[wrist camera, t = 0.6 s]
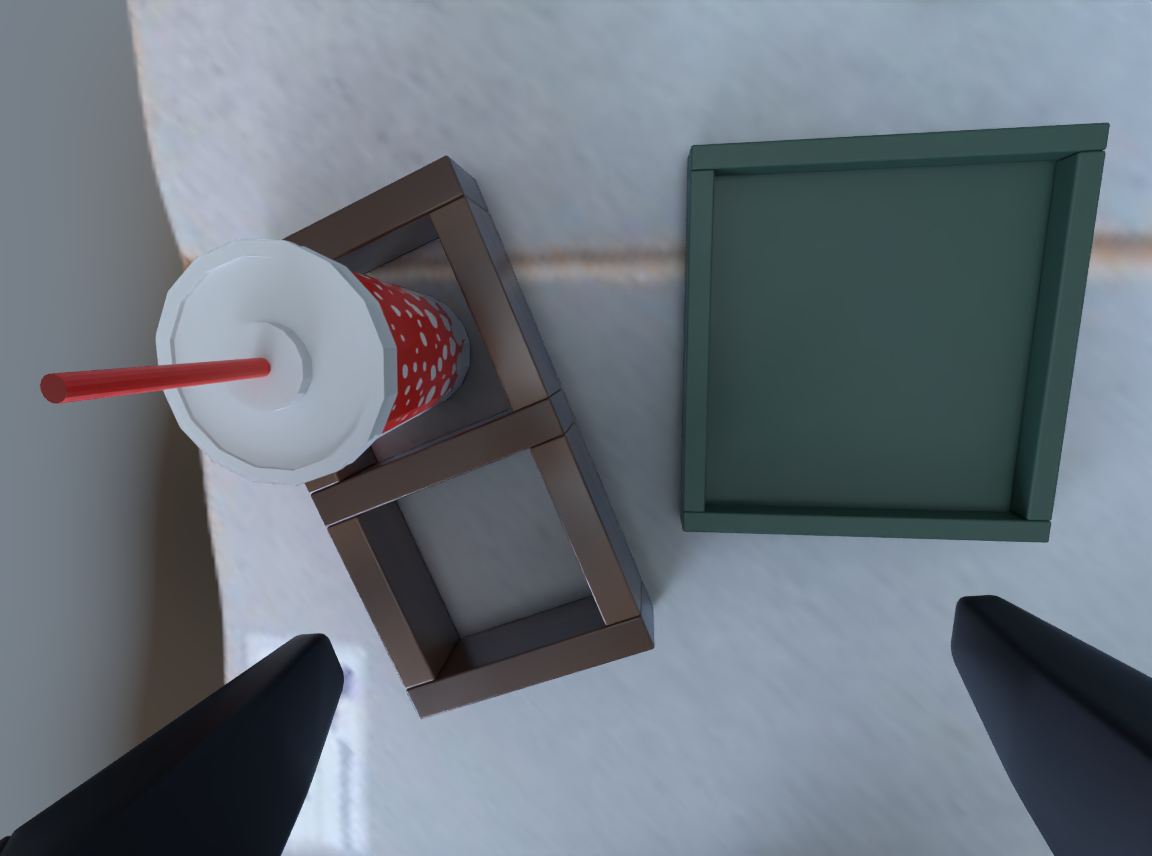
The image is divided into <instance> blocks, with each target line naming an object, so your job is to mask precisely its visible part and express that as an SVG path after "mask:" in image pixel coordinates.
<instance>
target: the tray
mask: <svg viewBox="0 0 1152 856" xmlns="http://www.w3.org/2000/svg"><path fill="white" fill-rule="evenodd" d="M1109 126H1110V124H1109V123H1092V124H1073V125H1055V126H1037V127H1019V128H1000V129H982V130H964V131H946V132H927V133H909V134H891V135H873V136H854V137H836V138H818V139H800V140H781V141H763V142H745V143H727V144H708V145H693V146H691V149H690V153H689V156H688V169H687V218H686V267H685V316H684V365H683V413H682V462H681V511H680V518H681V523H682V529H683V531H687V532H720V533H752V534H785V535H817V536H850V537H882V538H915V539H947V540H980V541H1012V542H1045V543H1046V542H1048V541H1049V534H1050V527H1051V522H1050V521H1049V520H1051V519H1052V512H1053V506H1054V499H1055V492H1056V485H1057V478H1058V472H1059V465H1060V458H1061V451H1062V444H1063V438H1064V431H1065V424H1066V417H1067V411H1068V404H1069V397H1070V390H1071V383H1072V377H1073V370H1074V363H1075V356H1076V349H1077V343H1078V336H1079V329H1080V322H1081V316H1082V309H1083V302H1084V295H1085V288H1086V282H1087V275H1088V268H1089V261H1090V254H1091V248H1092V241H1093V234H1094V227H1095V220H1096V214H1097V207H1098V200H1099V193H1100V187H1101V180H1102V173H1103V166H1104V159H1105V151H1103V150H1105V149H1106V146H1107V139H1108V133H1109Z"/></svg>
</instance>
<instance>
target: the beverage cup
mask: <svg viewBox="0 0 1152 856" xmlns="http://www.w3.org/2000/svg"><path fill="white" fill-rule="evenodd" d="M156 346H157V357H158V365H157V366H144V367H132V368H118V369H107V370H106V369H105V370H92V371H80V372H66V373H53V374H47V375H45V376H44V377H43V378H42V380H41V384H40V387H41V392H42V394H43V396H44V397H45V398H46V399H47V400H48V401H50V402H52V403H65V402H73V401H81V400H89V399H96V398H104V397H112V396H120V395H128V394H135V393H143V392H151V391H159V390H163V391H164V393H165V396H166V398H167V400H168V402H169V404H170V406H171V408H172V411H173V413H174V415H175V417H176V420H177V422H178V424H179V426H180V428H181V429H182V430H183V431H184V432H185V433H186V434H187V435H188V436H189V437H190V438H191V439H192V440H193V441H194V443H195V444H196V445H197V446H198V447H199V448H200V449H201V450H202V451H203V452H204V453H205V454H206V455H207V456H208V457H209V458H210V459H211V460H212V461H213V462H214V463H216V464H218V465H220V466H222V467H224V468H226V469H228V470H230V471H232V472H234V473H236V474H238V475H240V476H242V477H244V478H246V479H248V480H250V481H252V482H259V483H271V484H283V485H295V486H297V485H300V484H303V483H306V482H308V481H311V480H314V479H317V478H320V477H323V476H326V475H328V474H331V473H334V472H337V471H339V470H341V469H343V468H344V467H345V466H346V465H348V464H351V463H353V462H354V461H355V460H356V459H357V458H358V457H359V456H360V455H361V454H362V453H363V452H364V451H365V450H366V449H367V448H368V447H369V446H370V445H371V444H372V443H373V442H374V441H375V440H376V439H377V438H379V437H381V436H383V435H385V434H386V433H388V432H390V431H392V430H393V429H395V428H397V427H399V426H401V425H402V424H404V423H406V422H408V421H410V420H411V419H413V418H415V417H417V416H419V415H420V414H422V413H424V412H426V411H427V410H429V409H431V408H433V407H435V406H436V405H438V404H440V403H442V402H444V401H445V400H447V399H448V398H449V397H450V396H451V395H452V394H453V393H454V392H455V391H456V390H457V389H458V388H459V387H460V386H461V385H462V383H463V380H464V378H465V375H466V373H467V371H468V368H469V366H470V342H469V339H468V337H467V334H466V331H465V329H464V326H463V324H462V321H461V320H460V319H459V318H458V317H457V316H456V315H455V314H454V312H453V311H452V310H451V309H450V308H449V307H448V306H447V305H446V304H444V303H442V302H440V301H438V300H436V299H434V298H432V297H430V296H428V295H425V294H422V293H419V292H416V291H412V290H409V289H406V288H403V287H400V286H396V285H393V284H390V283H387V282H384V281H381V280H377V279H374V278H371V277H368V276H365V275H361V274H358V273H355V272H352V271H350V270H349V269H348V268H347V267H346V266H344V265H342V264H340V263H338V262H336V261H334V260H332V259H330V258H327V257H325V256H323V255H321V254H319V253H317V252H315V251H313V250H311V249H309V248H307V247H305V246H299V245H297V244H295V243H293V242H290V241H285V240H262V239H236V240H233V241H231V242H229V243H227V244H225V245H222V246H220V247H218V248H216V249H214V250H211V251H209V252H207V253H205V254H203V255H200V256H198V257H196V258H195V260H194V261H193V262H192V263H191V265H190V266H189V267H188V268H187V269H186V271H185V272H184V273H183V274H182V275H181V277H180V278H179V279H178V280H177V281H176V283H175V284H174V285H173V286H172V288H171V289H170V290H169V291H168V294H167V297H166V301H165V304H164V308H163V311H162V315H161V319H160V322H159V326H158V329H157V333H156Z"/></svg>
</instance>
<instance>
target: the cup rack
mask: <svg viewBox="0 0 1152 856" xmlns="http://www.w3.org/2000/svg"><path fill="white" fill-rule="evenodd" d="M438 237H439V239H440V242H441V244H442V246H443V249H444V251H445V253H446V256H447V258H448V260H449V263H450V265H451V267H452V270H453V272H454V274H455V277H456V279H457V281H458V284H459V286H460V288H461V291H462V293H463V295H464V298H465V300H466V302H467V304H468V307H469V309H470V311H471V314H472V316H473V318H474V321H475V323H476V325H477V328H478V330H479V332H480V335H481V337H482V339H483V342H484V344H485V346H486V349H487V351H488V353H489V356H490V358H491V360H492V363H493V365H494V367H495V370H496V372H497V374H498V377H499V379H500V381H501V384H502V386H503V388H504V391H505V393H506V395H507V397H508V400H509V402H510V404H511V407H512V409H510V410H507V411H505V412H502V413H500V414H497V415H495V416H492V417H490V418H487V419H485V420H483V421H480V422H478V423H475V424H473V425H470V426H468V427H465V428H463V429H460V430H458V431H456V432H453V433H451V434H448V435H446V436H443V437H441V438H438V439H436V440H433V441H431V442H429V443H426V444H424V445H421V446H419V447H416V448H414V449H411V450H409V451H406V452H404V453H401V454H399V455H397V456H394V457H392V458H389V459H387V460H384V461H382V462H379V463H377V461H376V459H375V457H374V455H373V452H372V450H371V448H370V446H369V447H368V448H367V449H366V450H365V451H364V452H363V453H362V454H361V455H360V456H359V457H358V458H357V459H356V460H355V461H354V462H353V463H351V464H348V465H346V466H345V467H344V468H343V469H341V470H339V471H337V472H334V473H331V474H328V475H326V476H323V477H320V478H317V479H314V480H311V481H308V482H306V483H305V485H306V487H307V489H308V491H309V492H310V493H312V494H311V497H312V499H313V501H314V503H315V505H316V507H317V509H318V511H319V514H320V516H321V518H322V520H323V522H324V524H325V526H329V527H328V528H327V529H328V532H329V534H330V536H331V538H332V540H333V542H334V544H335V546H336V548H337V550H338V552H339V554H340V556H341V558H342V560H343V562H344V565H345V567H346V569H347V571H348V573H349V575H350V577H351V579H352V581H353V583H354V585H355V587H356V589H357V591H358V593H359V595H360V597H361V599H362V601H363V603H364V605H365V608H366V610H367V612H368V614H369V616H370V618H371V620H372V622H373V624H374V626H375V628H376V630H377V632H378V634H379V636H380V638H381V640H382V642H383V644H384V646H385V649H386V651H387V653H388V655H389V657H390V659H391V661H392V663H393V665H394V667H395V669H396V671H397V673H398V675H399V677H400V679H401V681H402V683H403V685H404V687H405V689H407V690H406V691H407V694H408V696H409V698H410V700H411V702H412V704H413V706H414V708H415V710H416V712H417V714H418V716H419V718H420V719H423V718H426V717H430V716H433V715H436V714H439V713H443V712H446V711H449V710H453V709H456V708H459V707H463V706H466V705H469V704H473V703H476V702H479V701H482V700H486V699H489V698H492V697H496V696H499V695H502V694H506V693H509V692H512V691H515V690H519V689H522V688H525V687H529V686H532V685H535V684H539V683H542V682H545V681H549V680H552V679H555V678H558V677H562V676H565V675H568V674H572V673H575V672H578V671H582V670H585V669H588V668H591V667H595V666H598V665H601V664H605V663H608V662H611V661H615V660H618V659H621V658H624V657H628V656H631V655H634V654H638V653H641V652H644V651H648V650H651V649H653V648H654V614H653V606H652V603H651V601H650V598H649V596H648V594H647V591H646V589H645V586H644V584H643V582H642V581H641V577H640V574H639V572H638V569H637V567H636V565H635V562H634V560H633V557H632V555H631V553H630V550H629V548H628V545H627V543H626V541H625V538H624V536H623V533H622V531H621V529H620V526H619V524H618V521H617V519H616V517H615V514H614V512H613V509H612V507H611V505H610V502H609V500H608V497H607V495H606V493H605V490H604V488H603V485H602V483H601V481H600V478H599V476H598V473H597V471H596V469H595V466H594V464H593V461H592V459H591V457H590V454H589V452H588V449H587V447H586V445H585V442H584V440H583V437H582V435H581V433H580V430H579V428H578V425H577V423H576V422H575V421H574V420H575V418H574V416H573V413H572V411H571V408H570V406H569V404H568V401H567V399H566V396H565V394H564V392H563V390H562V389H561V384H560V382H559V379H558V377H557V375H556V372H555V370H554V367H553V365H552V363H551V360H550V358H549V355H548V353H547V351H546V348H545V346H544V343H543V341H542V339H541V336H540V334H539V331H538V329H537V327H536V324H535V322H534V319H533V317H532V315H531V312H530V310H529V307H528V305H527V303H526V300H525V298H524V295H523V293H522V291H521V288H520V286H519V283H518V281H517V279H516V276H515V274H514V271H513V269H512V267H511V264H510V262H509V259H508V257H507V255H506V252H505V250H504V247H503V245H502V243H501V240H500V238H499V235H498V233H497V231H496V228H495V226H494V223H493V221H492V218H491V216H490V214H488V209H487V207H486V204H485V202H484V200H483V197H482V195H481V192H480V190H479V188H478V185H477V183H476V180H475V179H474V178H473V177H472V176H471V175H469V174H468V173H467V172H466V171H465V170H464V169H463V168H461V167H460V166H459V165H458V164H457V163H456V162H454V161H453V160H452V159H451V158H450V157H449V156H444V157H442V158H440V159H438V160H436V161H434V162H432V163H430V164H428V165H427V166H425V167H423V168H421V169H419V170H417V171H415V172H413V173H411V174H409V175H407V176H405V177H403V178H401V179H399V180H397V181H395V182H393V183H391V184H390V185H388V186H386V187H384V188H382V189H380V190H378V191H376V192H374V193H372V194H370V195H368V196H366V197H364V198H362V199H360V200H358V201H356V202H354V203H352V204H351V205H349V206H347V207H345V208H343V209H341V210H339V211H337V212H335V213H333V214H331V215H329V216H327V217H325V218H323V219H321V220H319V221H317V222H315V223H314V224H312V225H310V226H308V227H306V228H304V229H302V230H300V231H298V232H296V233H294V234H292V235H290V236H288V237H286V238H284V239H282V240H285V241H290V242H293V243H295V244H297V245H299V246H305V247H307V248H309V249H311V250H313V251H315V252H317V253H319V254H321V255H323V256H325V257H327V258H330V259H332V260H334V261H336V262H338V263H340V264H342V265H344V266H346V267H347V268H348V269H349V270H350V271H352V272H355V273H358V274H361V275H362V274H364V273H366V272H368V271H370V270H372V269H374V268H376V267H378V266H380V265H382V264H385V263H387V262H389V261H391V260H393V259H395V258H397V257H399V256H401V255H403V254H405V253H407V252H409V251H411V250H414V249H416V248H418V247H420V246H422V245H424V244H426V243H428V242H430V241H432V240H434V239H436V238H438ZM528 448H530V451H531V453H532V455H533V458H534V460H535V462H536V465H537V467H538V469H539V472H540V474H541V476H542V479H543V481H544V483H545V486H546V488H547V490H548V493H549V495H550V497H551V500H552V502H553V504H554V506H555V509H556V511H557V513H558V516H559V518H560V520H561V523H562V525H563V527H564V530H565V532H566V534H567V537H568V539H569V541H570V544H571V546H572V548H573V551H574V553H575V555H576V558H577V560H578V562H579V565H580V567H581V569H582V572H583V574H584V576H585V579H586V581H587V583H588V586H589V588H590V590H591V593H592V595H593V596H591V597H588V598H585V599H582V600H579V601H576V602H573V603H570V604H567V605H564V606H561V607H558V608H554V609H551V610H548V611H545V612H542V613H539V614H536V615H533V616H530V617H527V618H524V619H521V620H518V621H515V622H512V623H509V624H506V625H503V626H500V627H497V628H494V629H490V630H487V631H484V632H481V633H478V634H475V635H472V636H469V637H466V638H463V639H460V640H459V636H458V634H457V632H456V630H455V628H454V625H453V623H452V621H451V619H450V617H449V615H448V613H447V611H446V608H445V606H444V604H443V602H442V600H441V598H440V596H439V593H438V591H437V589H436V587H435V585H434V583H433V581H432V578H431V576H430V574H429V572H428V570H427V568H426V566H425V564H424V561H423V559H422V557H421V555H420V553H419V551H418V549H417V546H416V544H415V542H414V540H413V538H412V536H411V534H410V531H409V529H408V527H407V525H406V523H405V521H404V519H403V517H402V514H401V512H400V510H399V508H398V506H397V504H396V502H395V500H398V499H400V498H403V497H405V496H408V495H410V494H413V493H416V492H418V491H421V490H423V489H426V488H428V487H431V486H433V485H436V484H439V483H441V482H444V481H446V480H449V479H451V478H454V477H457V476H459V475H462V474H464V473H467V472H469V471H472V470H475V469H477V468H480V467H482V466H485V465H487V464H490V463H492V462H495V461H498V460H500V459H503V458H505V457H508V456H510V455H513V454H516V453H518V452H521V451H523V450H526V449H528ZM376 463H377V464H376Z"/></svg>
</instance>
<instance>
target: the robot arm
mask: <svg viewBox="0 0 1152 856" xmlns="http://www.w3.org/2000/svg"><path fill="white" fill-rule="evenodd" d="M951 652H952V656H953V660H954V662H955V665H956V667H957V669H958V671H959V673H960V675H961V678H962V680H963V682H964V684H965V686H966V688H967V690H968V692H969V695H970V697H971V699H972V701H973V703H974V705H975V707H976V709H977V712H978V714H979V716H980V718H981V720H982V722H983V724H984V726H985V728H986V731H987V733H988V735H989V737H990V739H991V741H992V743H993V745H994V748H995V750H996V752H997V754H998V756H999V758H1000V760H1001V762H1002V764H1003V766H1004V768H1005V770H1006V772H1007V774H1008V776H1009V778H1010V780H1011V782H1012V784H1013V786H1014V788H1015V790H1016V791H1017V793H1018V795H1019V797H1020V798H1021V800H1022V802H1023V804H1024V805H1025V807H1026V809H1027V811H1028V812H1029V814H1030V816H1031V817H1032V819H1033V821H1034V822H1035V824H1036V826H1037V827H1038V829H1039V831H1040V832H1041V834H1042V836H1043V837H1044V839H1045V841H1046V843H1047V844H1048V846H1049V848H1050V849H1051V851H1052V853H1053V854H1054V856H1152V678H1151V677H1149V676H1147V675H1145V674H1143V673H1142V672H1140V671H1138V670H1136V669H1134V668H1132V667H1130V666H1128V665H1127V664H1125V663H1123V662H1121V661H1119V660H1117V659H1115V658H1113V657H1111V656H1110V655H1108V654H1106V653H1104V652H1102V651H1100V650H1098V649H1096V648H1095V647H1093V646H1091V645H1089V644H1087V643H1085V642H1083V641H1081V640H1079V639H1078V638H1076V637H1074V636H1072V635H1070V634H1068V633H1066V632H1064V631H1063V630H1061V629H1059V628H1057V627H1055V626H1053V625H1051V624H1049V623H1048V622H1046V621H1044V620H1042V619H1040V618H1038V617H1036V616H1034V615H1032V614H1031V613H1029V612H1027V611H1025V610H1023V609H1021V608H1019V607H1017V606H1016V605H1014V604H1012V603H1010V602H1008V601H1006V600H1004V599H1002V598H1000V597H998V596H994V595H982V596H965V597H962V598H960V599H959V601H958V602H957V605H956V610H955V617H954V624H953V631H952V638H951ZM343 684H344V675H343V670H342V668H341V666H340V663H339V661H338V658H337V656H336V654H335V651H334V649H333V647H332V644H331V642H330V640H329V638H328V637H327V636H326V635H324V634H321V633H318V634H302V635H298V636H296V637H294V638H292V639H291V640H289V641H288V642H287V643H285V644H284V645H282V646H281V647H279V648H278V649H276V650H275V651H274V652H272V653H271V654H269V655H268V656H266V657H265V658H263V659H262V660H261V661H259V662H258V663H256V664H255V665H253V666H252V667H250V668H249V669H248V670H246V671H245V672H243V673H242V674H240V675H239V676H237V677H236V678H235V679H233V680H232V681H230V682H229V683H227V684H226V685H224V686H223V687H222V688H220V689H219V690H217V691H216V692H214V693H213V694H211V695H210V696H209V697H207V698H206V699H204V700H203V701H201V702H200V703H198V704H197V705H195V706H194V707H193V708H191V709H190V710H189V711H187V712H185V713H184V714H182V715H181V716H180V717H178V718H177V719H175V720H174V721H172V722H171V723H169V724H168V725H167V726H165V727H164V728H162V729H161V730H159V731H158V732H156V733H155V734H154V735H152V736H151V737H150V738H148V739H146V740H145V741H143V742H142V743H141V744H139V745H138V746H136V747H135V748H133V749H132V750H130V751H129V752H127V753H126V754H125V755H124V756H122V757H120V758H119V759H118V760H116V761H114V762H113V763H112V764H110V765H109V766H107V767H106V768H104V769H103V770H102V771H100V772H99V773H97V774H96V775H94V776H93V777H91V778H90V779H88V780H87V781H86V782H84V783H83V784H81V785H80V786H78V787H77V788H76V789H74V790H73V791H71V792H70V793H68V794H67V795H65V796H64V797H62V798H61V799H60V800H58V801H57V802H55V803H54V804H52V805H51V806H50V807H48V808H46V809H45V810H44V811H42V812H41V813H39V814H38V815H36V816H35V817H33V818H32V819H31V820H29V821H28V822H26V823H25V824H23V825H22V826H20V827H19V828H18V829H16V830H15V831H14V833H13V834H12V835H11V836H7V837H4V838H3V839H1V840H0V856H281V854H282V852H283V850H284V847H285V845H286V843H287V840H288V838H289V836H290V833H291V831H292V829H293V826H294V824H295V822H296V820H297V817H298V815H299V813H300V810H301V808H302V805H303V803H304V800H305V798H306V795H307V793H308V790H309V787H310V785H311V782H312V779H313V777H314V774H315V771H316V768H317V765H318V762H319V759H320V756H321V753H322V750H323V747H324V744H325V741H326V738H327V735H328V732H329V729H330V726H331V723H332V720H333V717H334V714H335V711H336V708H337V705H338V702H339V698H340V695H341V692H342V689H343Z"/></svg>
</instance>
